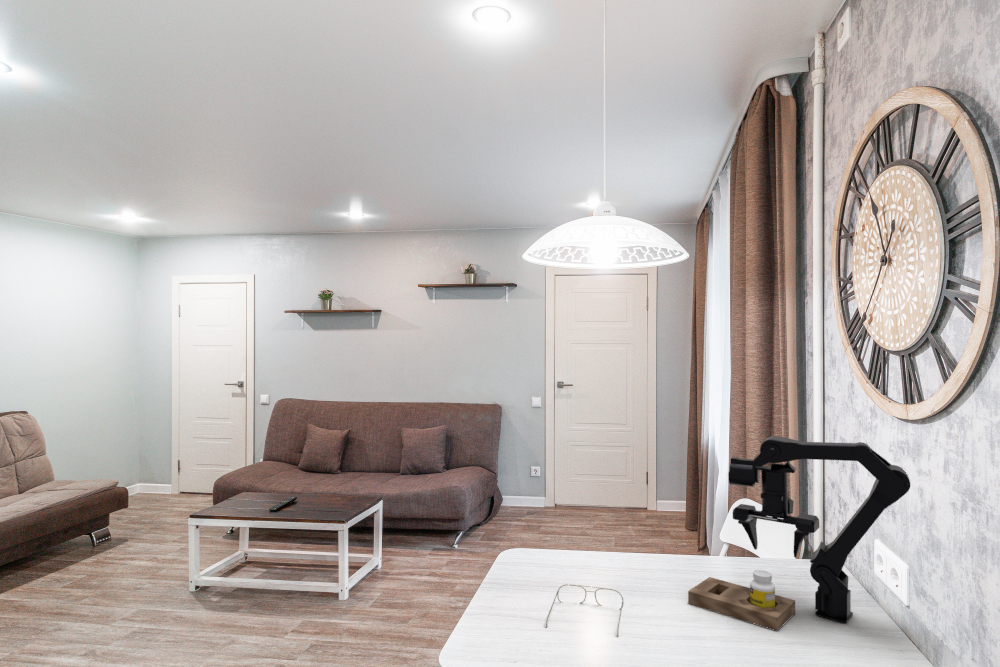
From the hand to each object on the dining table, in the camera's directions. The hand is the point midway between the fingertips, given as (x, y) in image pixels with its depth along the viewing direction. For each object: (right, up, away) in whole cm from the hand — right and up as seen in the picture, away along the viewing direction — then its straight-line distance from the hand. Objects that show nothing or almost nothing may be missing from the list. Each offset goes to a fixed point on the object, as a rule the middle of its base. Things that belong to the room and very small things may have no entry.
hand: (775, 553), depth 151 cm
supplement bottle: (-6, -13, -6) cm, 15 cm away
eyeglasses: (-47, -13, -7) cm, 49 cm away
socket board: (-9, -12, -2) cm, 16 cm away
